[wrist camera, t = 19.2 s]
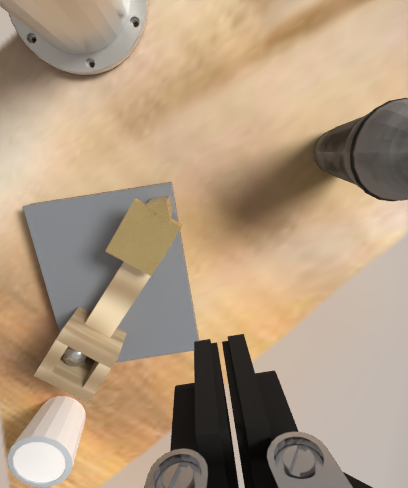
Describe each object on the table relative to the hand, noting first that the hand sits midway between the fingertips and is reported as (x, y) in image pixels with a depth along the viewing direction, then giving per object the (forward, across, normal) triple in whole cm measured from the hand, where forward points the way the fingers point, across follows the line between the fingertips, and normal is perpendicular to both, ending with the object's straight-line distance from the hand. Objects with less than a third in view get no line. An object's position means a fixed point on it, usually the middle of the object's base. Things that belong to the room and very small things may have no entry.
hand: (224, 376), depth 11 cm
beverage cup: (+27, -15, -5) cm, 32 cm away
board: (+27, +10, +5) cm, 29 cm away
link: (+25, +10, +7) cm, 28 cm away
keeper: (+27, +6, 0) cm, 28 cm away
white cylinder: (+27, +21, +22) cm, 41 cm away
